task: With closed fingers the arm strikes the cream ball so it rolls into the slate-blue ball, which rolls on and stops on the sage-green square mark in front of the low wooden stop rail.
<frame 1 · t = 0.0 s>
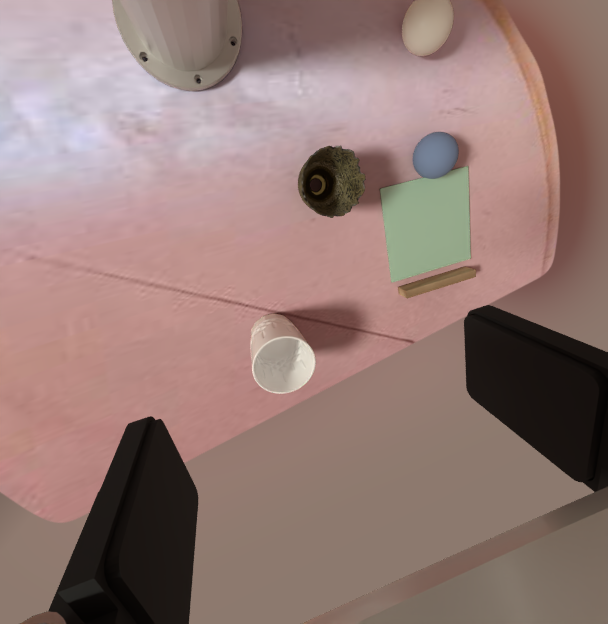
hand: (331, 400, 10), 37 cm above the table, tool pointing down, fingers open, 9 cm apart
object ball: (435, 156, 43), on the table
cream ball: (427, 25, 37), on the table
white cup: (272, 333, 49), on the table
stop rail: (432, 280, 52), on the table
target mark: (428, 226, 49), on the table
cup: (315, 185, 43), on the table
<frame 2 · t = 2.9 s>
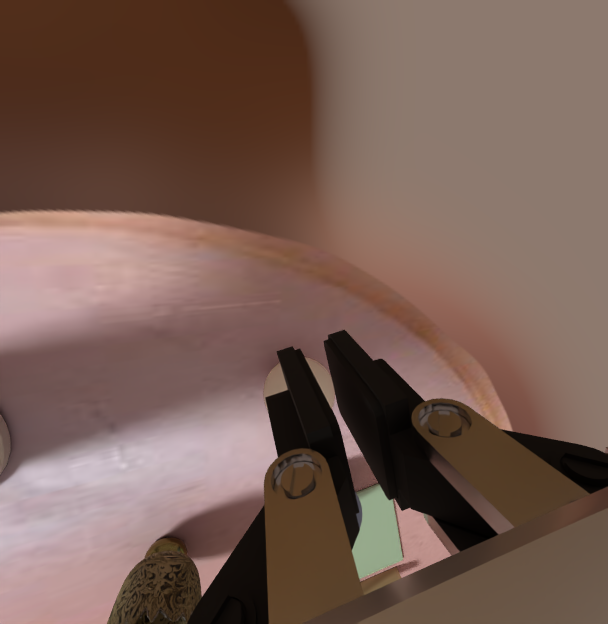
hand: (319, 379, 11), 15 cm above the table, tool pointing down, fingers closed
cream ball: (299, 392, 25), on the table
stop rail: (352, 588, 40), on the table
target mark: (340, 544, 37), on the table
cup: (167, 545, 31), on the table
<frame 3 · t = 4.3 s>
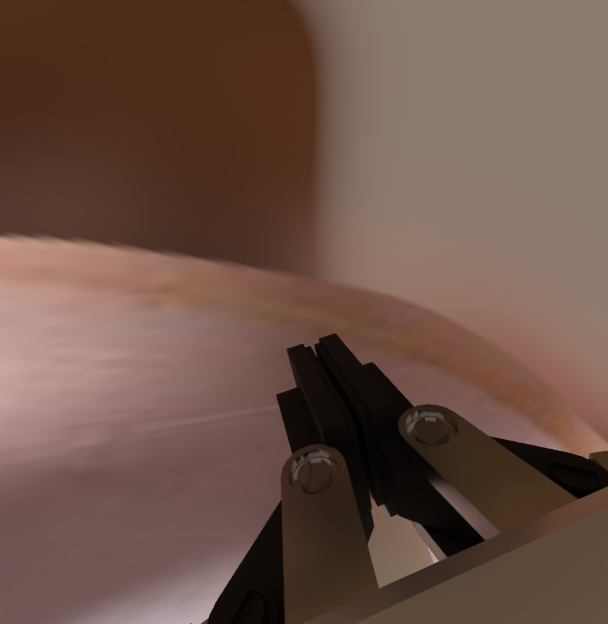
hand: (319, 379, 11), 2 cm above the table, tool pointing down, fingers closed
cream ball: (365, 576, 13), on the table
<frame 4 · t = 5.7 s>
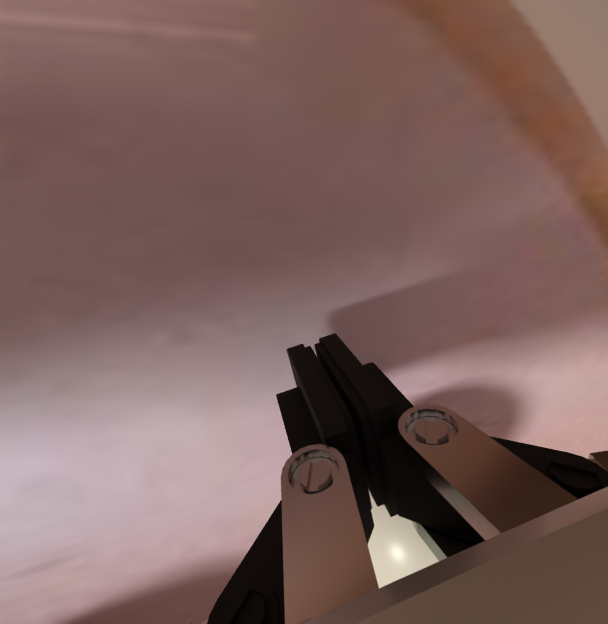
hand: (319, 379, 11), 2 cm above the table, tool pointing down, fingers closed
cream ball: (414, 513, 12), on the table
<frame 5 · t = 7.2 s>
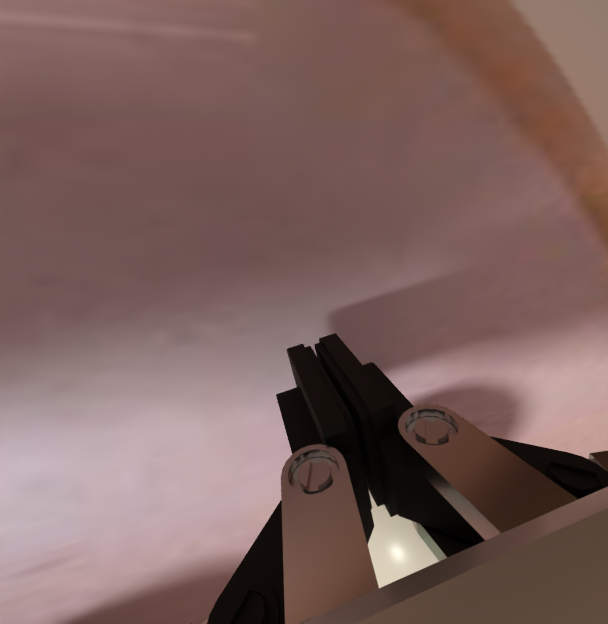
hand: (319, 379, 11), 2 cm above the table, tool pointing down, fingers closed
cream ball: (414, 513, 12), on the table
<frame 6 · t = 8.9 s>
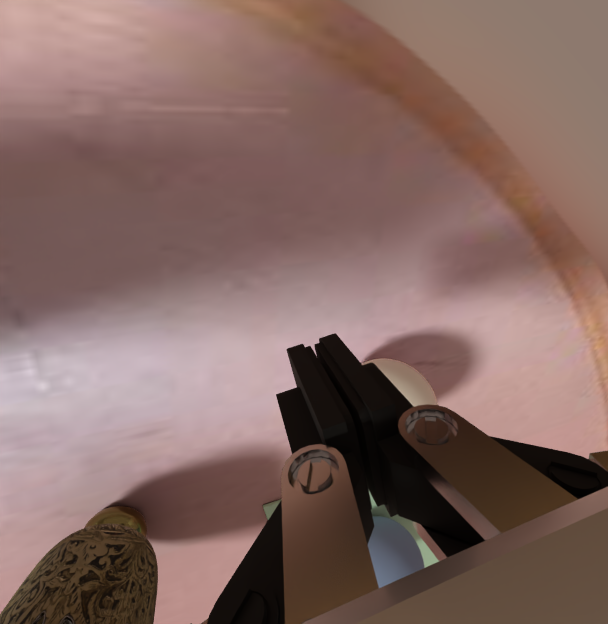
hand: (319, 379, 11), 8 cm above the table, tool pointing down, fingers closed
object ball: (382, 563, 23), on the table
cream ball: (385, 408, 18), on the table
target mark: (371, 538, 26), on the table
cup: (121, 518, 21), on the table
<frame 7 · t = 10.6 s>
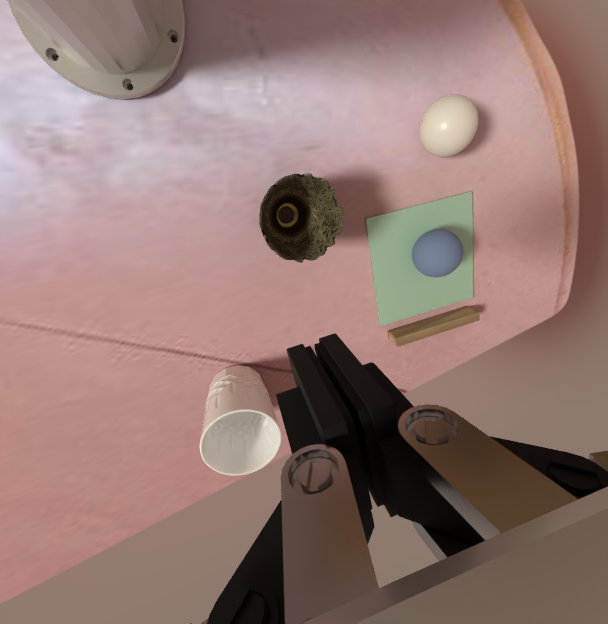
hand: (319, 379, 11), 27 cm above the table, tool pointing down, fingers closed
object ball: (436, 253, 38), on the table
cream ball: (447, 126, 33), on the table
white cup: (237, 387, 41), on the table
stop rail: (428, 322, 44), on the table
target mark: (423, 261, 41), on the table
cup: (285, 214, 35), on the table
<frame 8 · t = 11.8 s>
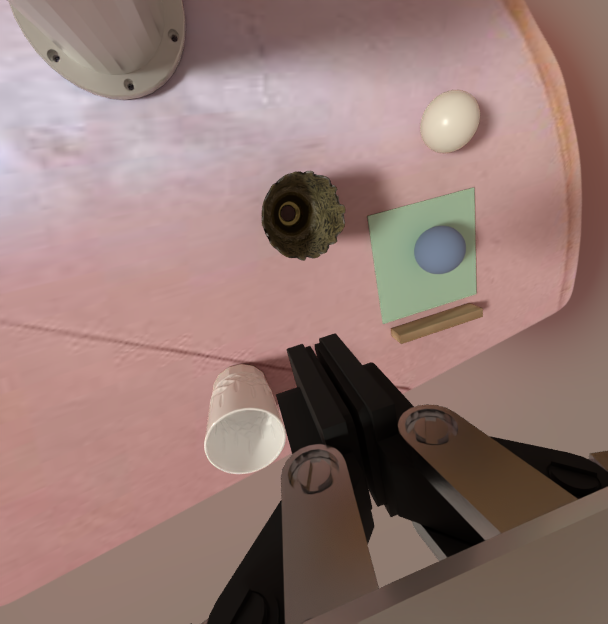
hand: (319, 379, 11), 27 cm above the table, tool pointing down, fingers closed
object ball: (439, 250, 38), on the table
cream ball: (449, 122, 33), on the table
white cup: (240, 386, 41), on the table
stop rail: (431, 319, 44), on the table
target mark: (426, 258, 41), on the table
cup: (287, 213, 35), on the table
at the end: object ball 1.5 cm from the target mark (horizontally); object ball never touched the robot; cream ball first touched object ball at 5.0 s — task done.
